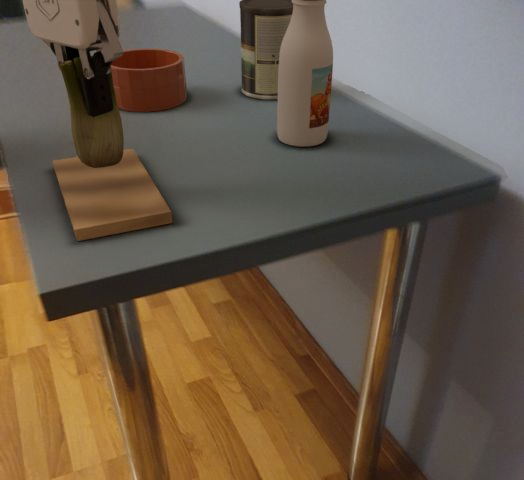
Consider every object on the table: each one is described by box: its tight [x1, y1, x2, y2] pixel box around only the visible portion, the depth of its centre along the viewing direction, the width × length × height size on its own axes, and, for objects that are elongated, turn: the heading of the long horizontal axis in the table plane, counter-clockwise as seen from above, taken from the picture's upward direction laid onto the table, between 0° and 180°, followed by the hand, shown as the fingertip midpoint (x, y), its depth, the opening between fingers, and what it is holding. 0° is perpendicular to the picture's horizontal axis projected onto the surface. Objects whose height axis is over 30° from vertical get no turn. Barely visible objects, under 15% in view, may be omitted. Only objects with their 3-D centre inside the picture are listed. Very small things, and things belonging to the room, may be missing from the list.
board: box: [51, 148, 174, 242], centre depth 69 cm, size 20×11×2 cm, turn 23°
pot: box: [111, 48, 188, 113], centre depth 95 cm, size 14×14×6 cm
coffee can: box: [238, 0, 293, 101], centre depth 96 cm, size 10×10×14 cm
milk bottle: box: [276, 0, 334, 147], centre depth 77 cm, size 8×8×20 cm
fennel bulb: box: [59, 55, 125, 168], centre depth 62 cm, size 6×5×12 cm
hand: (92, 109), depth 62 cm, fingers closed on fennel bulb
